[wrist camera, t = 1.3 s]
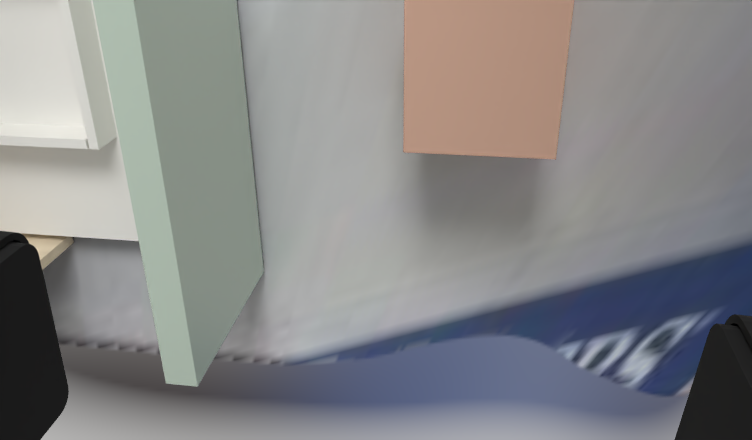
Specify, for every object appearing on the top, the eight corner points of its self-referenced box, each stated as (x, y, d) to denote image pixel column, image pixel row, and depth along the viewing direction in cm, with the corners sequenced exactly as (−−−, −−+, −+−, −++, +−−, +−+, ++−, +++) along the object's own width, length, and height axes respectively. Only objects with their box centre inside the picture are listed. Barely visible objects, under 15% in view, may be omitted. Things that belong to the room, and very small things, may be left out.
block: (560, -24, 25) (574, 0, 20) (546, 111, 27) (555, 159, 22) (420, -25, 25) (404, -2, 21) (418, 107, 28) (403, 152, 23)
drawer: (208, -285, 22) (74, -356, 15) (264, 270, 32) (197, 386, 25) (-154, -267, 24) (-424, -324, 17) (0, 251, 34) (-132, 354, 27)
